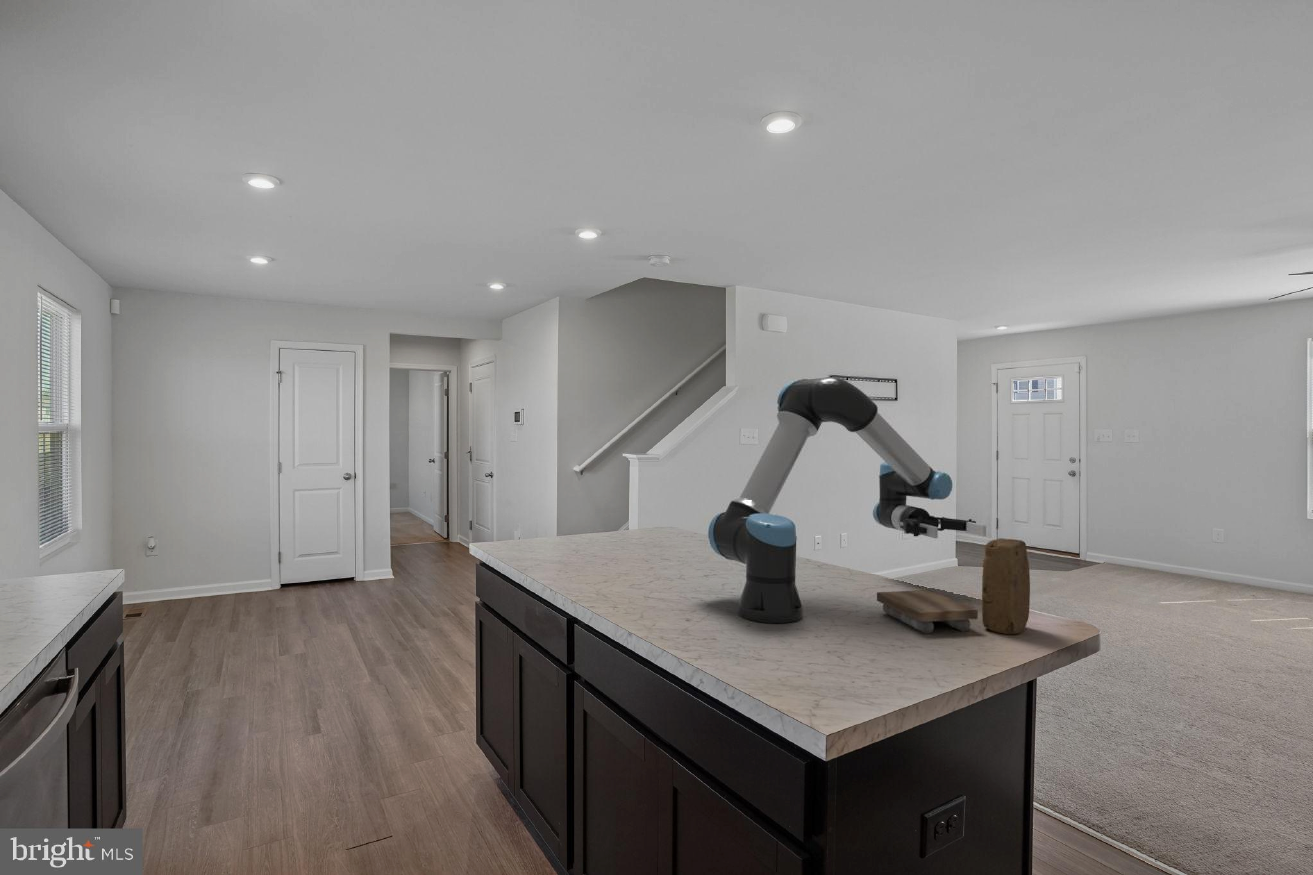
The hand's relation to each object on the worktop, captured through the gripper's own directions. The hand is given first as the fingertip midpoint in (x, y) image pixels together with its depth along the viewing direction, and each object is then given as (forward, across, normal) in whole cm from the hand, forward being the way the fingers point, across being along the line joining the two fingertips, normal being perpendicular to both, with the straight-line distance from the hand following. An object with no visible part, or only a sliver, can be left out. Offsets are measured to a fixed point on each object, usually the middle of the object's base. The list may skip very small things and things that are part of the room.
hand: (960, 531), depth 167 cm
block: (+18, +1, -19) cm, 26 cm away
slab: (+10, +16, -19) cm, 27 cm away
